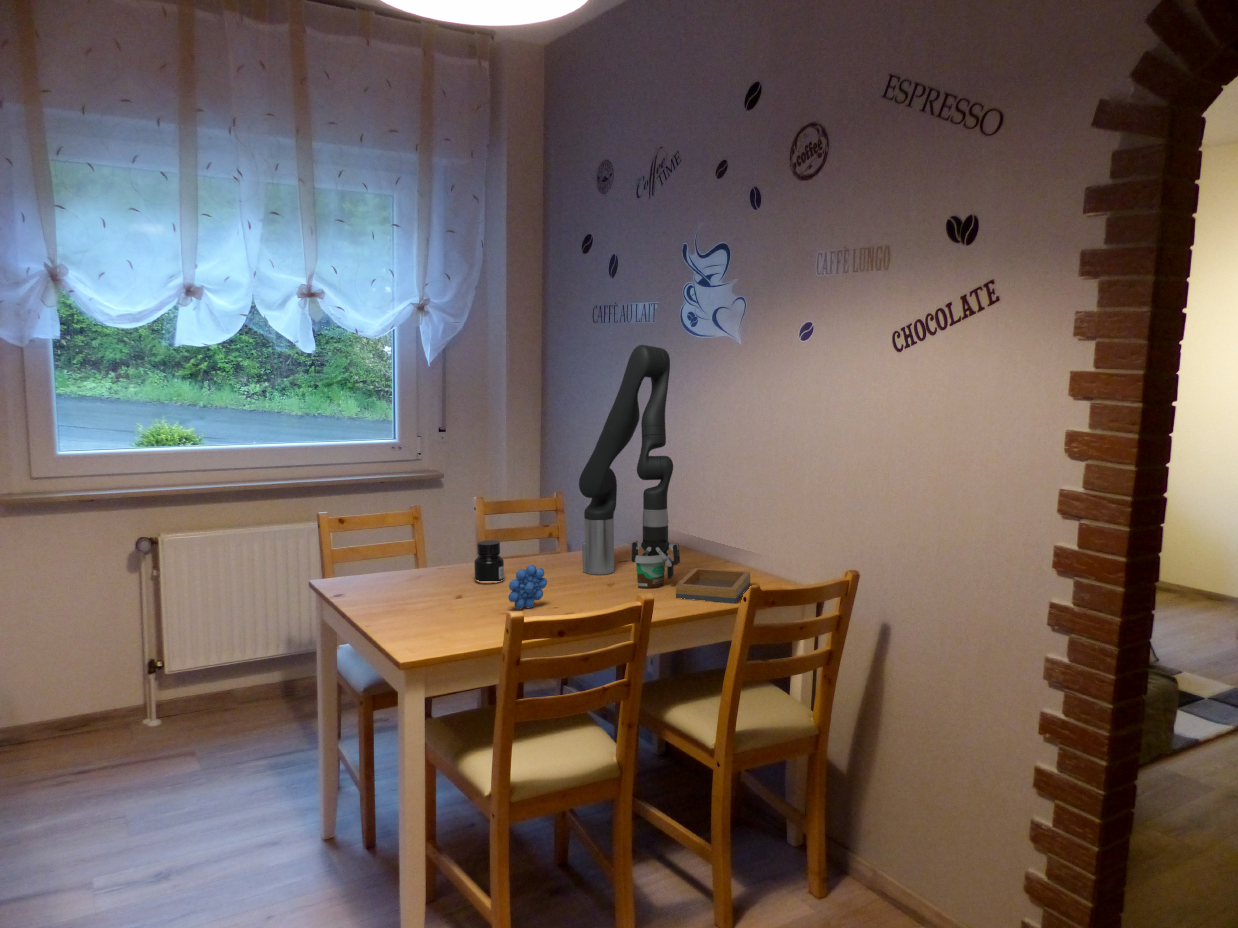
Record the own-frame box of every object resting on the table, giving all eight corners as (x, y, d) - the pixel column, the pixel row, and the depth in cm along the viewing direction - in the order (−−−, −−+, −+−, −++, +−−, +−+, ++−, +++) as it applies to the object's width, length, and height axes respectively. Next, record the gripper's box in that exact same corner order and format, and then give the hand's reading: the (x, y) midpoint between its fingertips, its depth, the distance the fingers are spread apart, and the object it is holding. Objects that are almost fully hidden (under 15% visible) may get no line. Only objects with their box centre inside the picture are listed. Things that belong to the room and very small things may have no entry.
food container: (652, 592, 263) (652, 558, 262) (635, 589, 267) (634, 555, 266) (675, 583, 273) (675, 550, 272) (658, 580, 277) (658, 548, 276)
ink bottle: (508, 582, 276) (507, 543, 274) (480, 586, 272) (479, 546, 270) (498, 575, 284) (497, 538, 283) (470, 579, 280) (469, 540, 279)
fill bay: (675, 598, 256) (675, 584, 256) (694, 580, 276) (694, 567, 276) (735, 603, 251) (735, 589, 250) (750, 584, 271) (750, 571, 270)
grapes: (539, 601, 255) (538, 559, 253) (551, 606, 249) (550, 563, 248) (501, 608, 249) (500, 564, 247) (513, 613, 243) (512, 569, 242)
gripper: (628, 524, 267) (628, 578, 269) (675, 527, 262) (675, 582, 264) (636, 519, 274) (636, 572, 276) (682, 522, 269) (682, 576, 271)
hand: (655, 577), depth 270 cm, fingers open, 8 cm apart
